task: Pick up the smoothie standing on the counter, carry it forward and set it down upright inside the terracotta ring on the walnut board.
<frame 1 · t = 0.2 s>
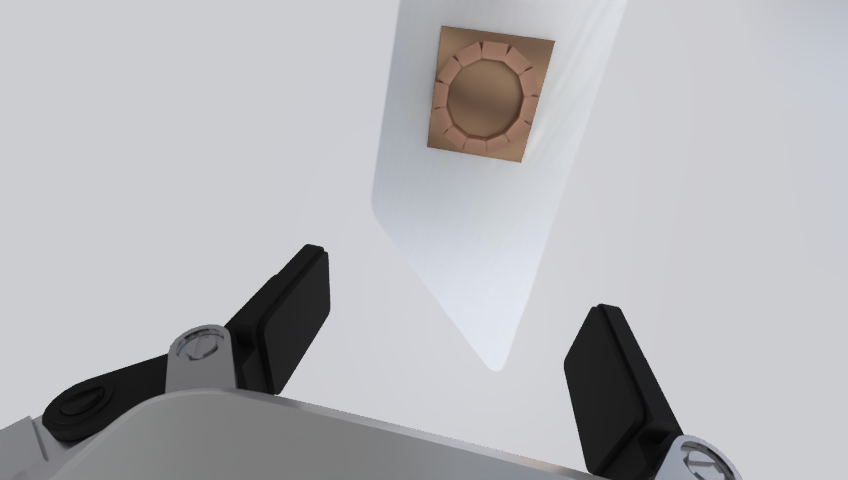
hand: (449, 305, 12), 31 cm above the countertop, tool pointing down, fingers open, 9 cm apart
ring board: (484, 97, 36), on the countertop
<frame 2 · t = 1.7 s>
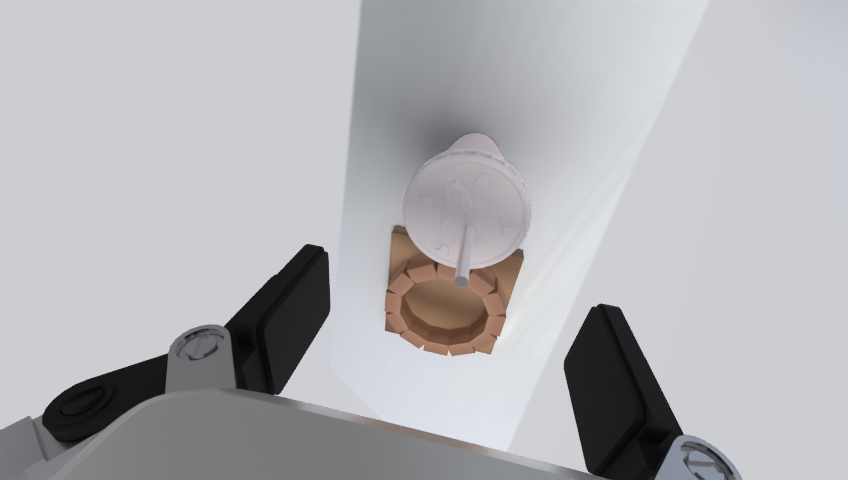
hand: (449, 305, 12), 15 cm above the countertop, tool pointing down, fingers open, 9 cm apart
ring board: (447, 290, 31), on the countertop
smoothie: (474, 157, 24), on the countertop
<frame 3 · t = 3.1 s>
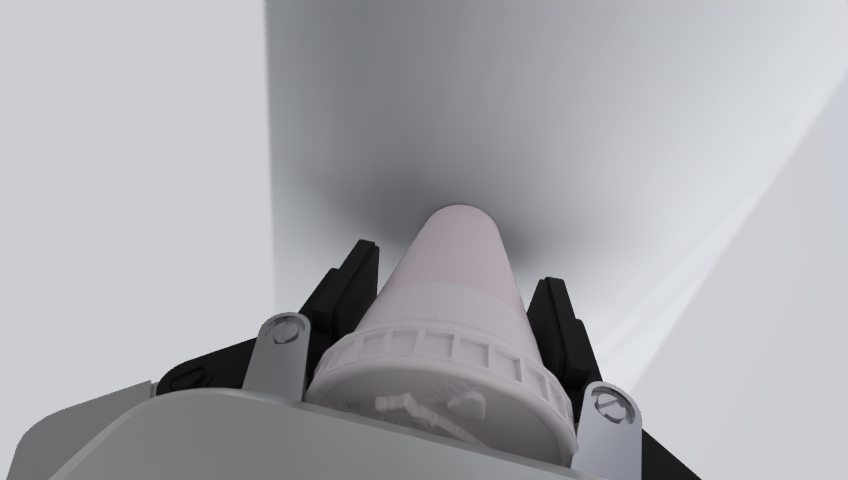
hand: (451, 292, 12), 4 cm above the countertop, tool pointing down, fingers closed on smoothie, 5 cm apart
smoothie: (460, 237, 16), on the countertop, touching gripper
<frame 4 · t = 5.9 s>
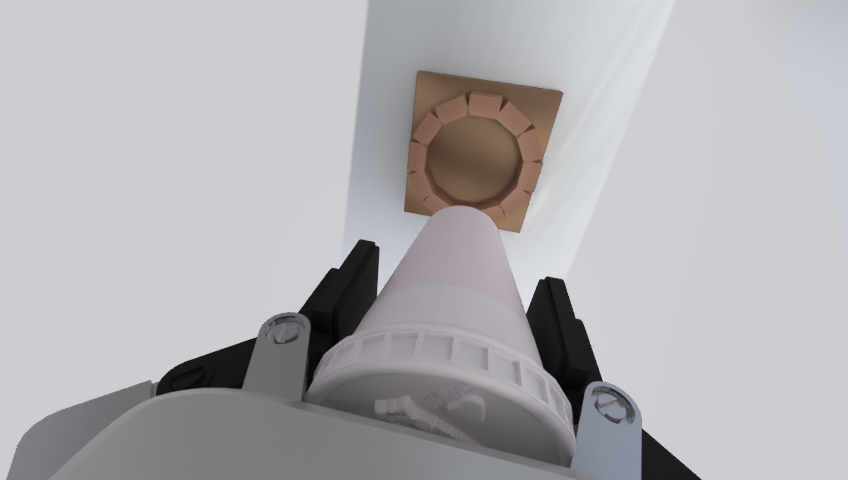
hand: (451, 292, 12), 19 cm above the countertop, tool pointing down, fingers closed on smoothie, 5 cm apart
ring board: (474, 155, 29), on the countertop
smoothie: (460, 238, 16), point 15 cm above the countertop, touching gripper
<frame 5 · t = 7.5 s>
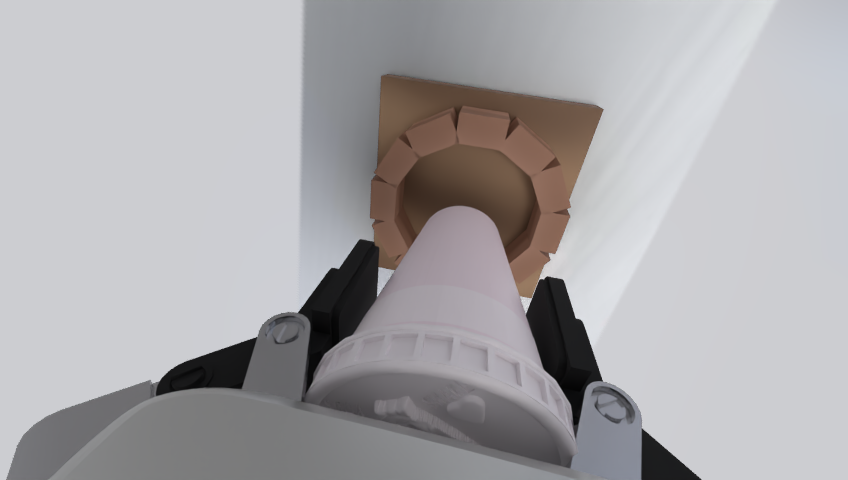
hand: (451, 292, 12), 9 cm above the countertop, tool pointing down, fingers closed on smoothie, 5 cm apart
ring board: (467, 194, 20), on the countertop
smoothie: (460, 239, 16), point 5 cm above the countertop, touching gripper
when the fingers open (6 cm above the countertop, at t = 8.8 s): smoothie stays where it is, resting on ring board.
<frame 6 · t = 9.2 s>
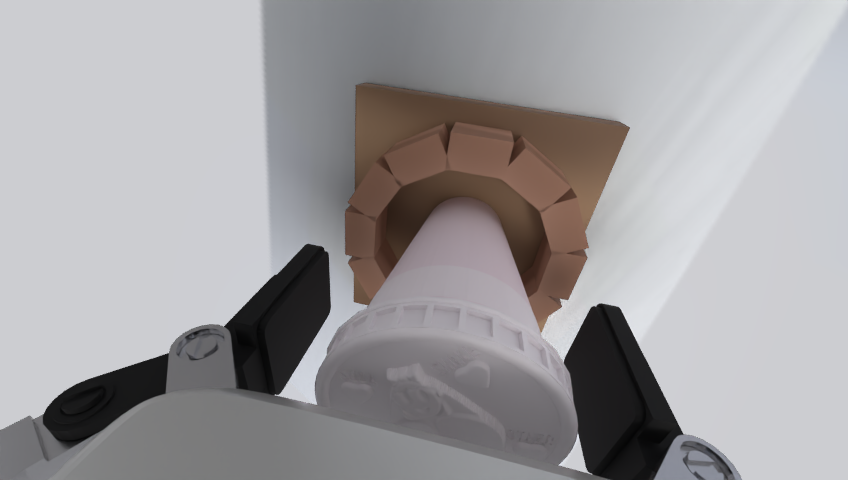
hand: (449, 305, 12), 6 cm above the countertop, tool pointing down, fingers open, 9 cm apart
ring board: (462, 223, 17), on the countertop
smoothie: (463, 229, 16), point 1 cm above the countertop, touching ring board
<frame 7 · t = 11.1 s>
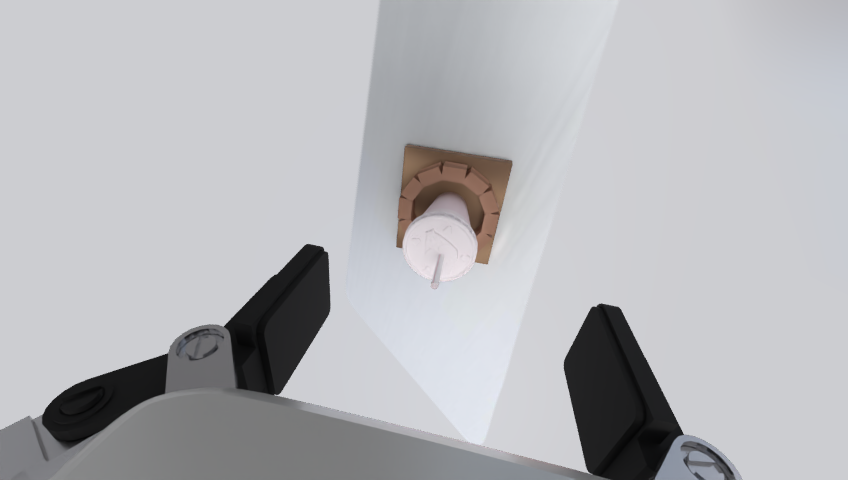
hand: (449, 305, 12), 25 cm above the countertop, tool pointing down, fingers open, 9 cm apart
ring board: (450, 205, 37), on the countertop
smoothie: (449, 207, 36), point 1 cm above the countertop, touching ring board
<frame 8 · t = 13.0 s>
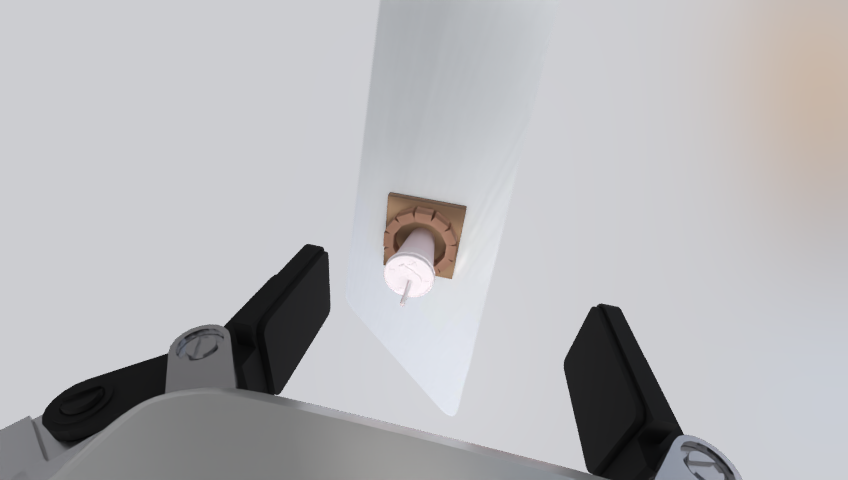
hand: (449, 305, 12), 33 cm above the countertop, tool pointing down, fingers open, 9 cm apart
ring board: (423, 235, 49), on the countertop
smoothie: (422, 238, 48), point 1 cm above the countertop, touching ring board
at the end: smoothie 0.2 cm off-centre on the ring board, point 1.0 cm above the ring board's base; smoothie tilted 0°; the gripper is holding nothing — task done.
